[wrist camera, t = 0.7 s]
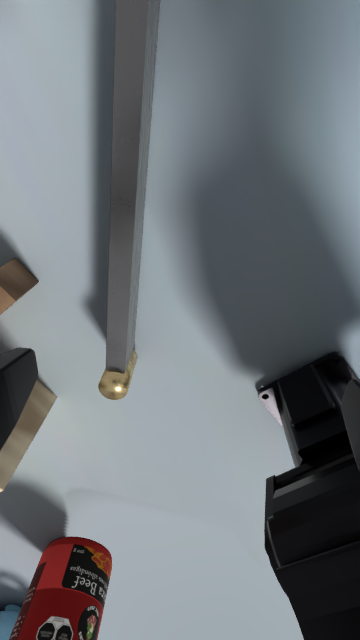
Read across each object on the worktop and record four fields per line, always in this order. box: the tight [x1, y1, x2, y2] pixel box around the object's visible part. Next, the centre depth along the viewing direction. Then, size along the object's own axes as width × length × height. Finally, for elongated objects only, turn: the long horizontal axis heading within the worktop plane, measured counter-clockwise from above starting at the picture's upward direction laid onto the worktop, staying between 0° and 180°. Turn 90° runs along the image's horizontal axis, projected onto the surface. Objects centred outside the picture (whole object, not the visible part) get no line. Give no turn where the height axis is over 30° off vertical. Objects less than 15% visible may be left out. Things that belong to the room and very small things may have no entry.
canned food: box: [9, 537, 112, 640], centre depth 32 cm, size 8×8×11 cm
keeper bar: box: [99, 0, 160, 400], centre depth 17 cm, size 21×2×4 cm, turn 173°
